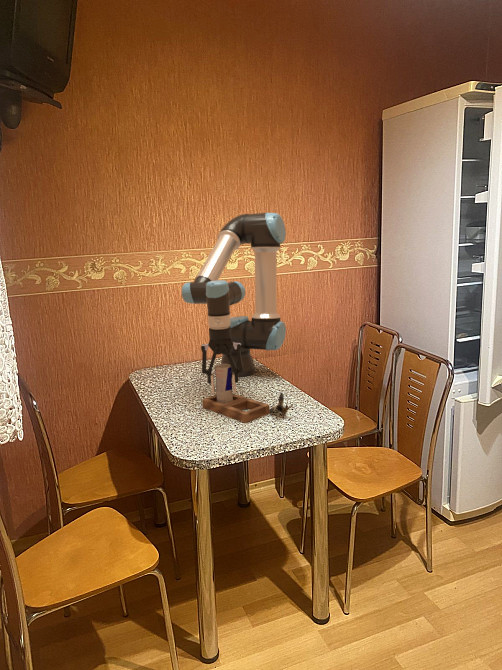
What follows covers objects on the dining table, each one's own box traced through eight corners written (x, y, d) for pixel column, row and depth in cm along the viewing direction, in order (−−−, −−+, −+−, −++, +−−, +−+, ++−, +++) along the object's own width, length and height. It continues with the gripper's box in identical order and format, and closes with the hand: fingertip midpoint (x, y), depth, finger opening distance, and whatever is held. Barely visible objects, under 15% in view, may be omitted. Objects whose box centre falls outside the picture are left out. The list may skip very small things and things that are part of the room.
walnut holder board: (202, 407, 193) (202, 399, 193) (226, 399, 201) (226, 391, 200) (245, 423, 177) (245, 414, 177) (269, 413, 185) (269, 404, 184)
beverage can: (231, 409, 190) (229, 367, 187) (215, 409, 191) (213, 367, 188) (234, 404, 195) (232, 363, 192) (219, 403, 196) (217, 363, 193)
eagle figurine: (299, 411, 182) (287, 398, 190) (289, 397, 178) (277, 385, 186) (281, 426, 181) (270, 412, 189) (270, 412, 178) (260, 399, 185)
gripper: (189, 330, 183) (194, 396, 188) (248, 328, 182) (252, 394, 188) (192, 325, 191) (197, 389, 196) (249, 323, 190) (252, 387, 195)
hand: (224, 391), depth 192 cm, fingers open, 7 cm apart
